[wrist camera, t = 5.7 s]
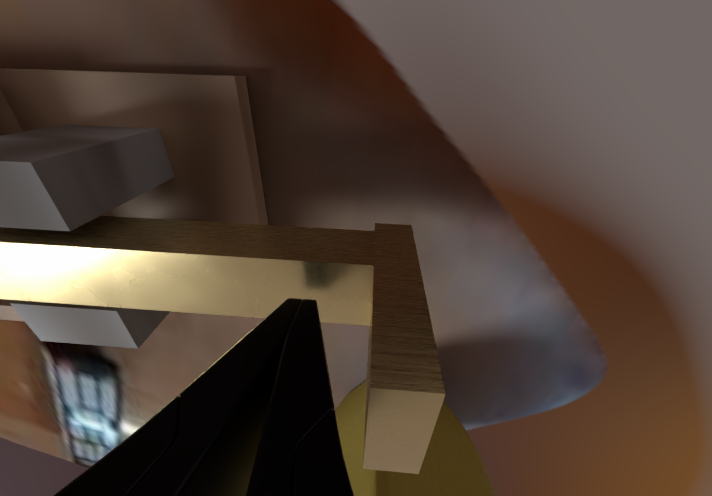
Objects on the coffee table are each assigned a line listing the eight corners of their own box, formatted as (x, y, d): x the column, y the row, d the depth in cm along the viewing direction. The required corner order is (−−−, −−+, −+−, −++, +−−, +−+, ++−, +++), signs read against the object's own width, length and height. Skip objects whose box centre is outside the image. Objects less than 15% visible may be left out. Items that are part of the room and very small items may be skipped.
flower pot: (379, 336, 19) (379, 522, 11) (475, 389, 21) (529, 573, 13) (312, 394, 23) (278, 558, 15) (398, 433, 25) (405, 593, 17)
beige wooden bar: (30, 269, 12) (-220, 412, 7) (-18, 201, 10) (-392, 324, 5) (401, 294, 11) (418, 474, 6) (411, 225, 9) (445, 394, 5)
